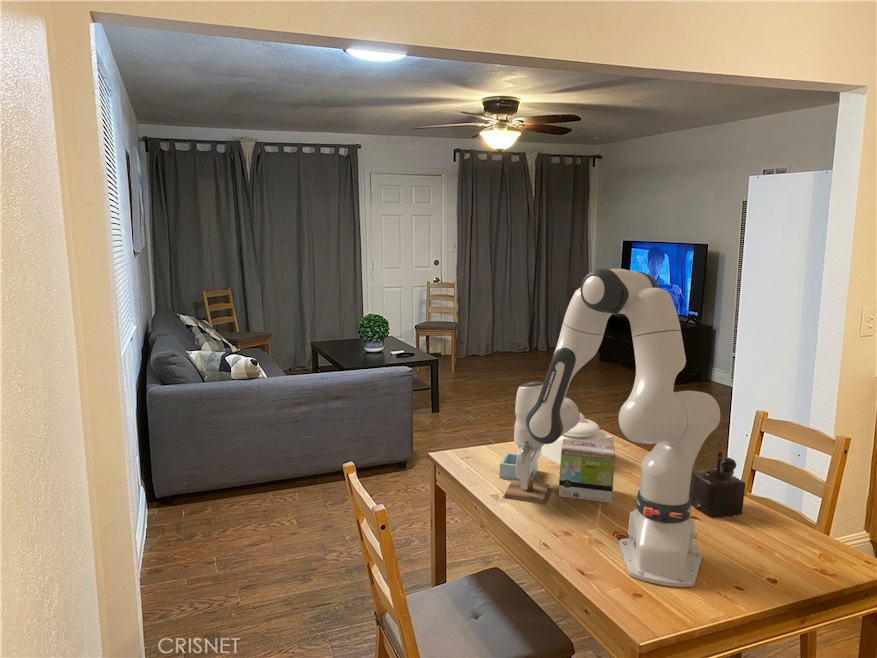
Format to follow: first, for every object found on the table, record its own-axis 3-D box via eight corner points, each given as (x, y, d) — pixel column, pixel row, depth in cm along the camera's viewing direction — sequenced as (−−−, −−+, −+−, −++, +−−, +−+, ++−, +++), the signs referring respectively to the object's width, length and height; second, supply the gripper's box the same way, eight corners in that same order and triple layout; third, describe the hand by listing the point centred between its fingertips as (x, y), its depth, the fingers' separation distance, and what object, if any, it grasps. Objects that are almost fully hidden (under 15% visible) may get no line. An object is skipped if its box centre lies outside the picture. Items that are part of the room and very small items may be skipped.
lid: (543, 503, 176) (543, 489, 175) (504, 497, 179) (504, 484, 178) (548, 488, 186) (549, 475, 185) (512, 482, 189) (512, 470, 189)
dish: (531, 483, 190) (532, 467, 189) (499, 479, 193) (499, 463, 192) (537, 471, 199) (537, 456, 199) (506, 467, 202) (506, 452, 202)
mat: (544, 505, 175) (544, 504, 175) (502, 499, 179) (502, 498, 179) (550, 488, 186) (550, 487, 186) (510, 483, 190) (510, 482, 190)
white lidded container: (571, 471, 200) (573, 423, 198) (536, 453, 216) (538, 409, 213) (612, 462, 208) (615, 416, 206) (576, 446, 224) (578, 402, 221)
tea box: (558, 498, 180) (560, 448, 178) (559, 484, 190) (562, 437, 187) (612, 504, 177) (615, 453, 174) (611, 489, 186) (614, 442, 184)
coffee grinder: (684, 502, 178) (689, 441, 175) (717, 498, 181) (723, 439, 178) (720, 527, 163) (726, 461, 161) (757, 523, 166) (763, 458, 163)
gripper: (534, 450, 169) (531, 498, 172) (546, 427, 188) (543, 471, 191) (511, 447, 171) (509, 495, 174) (525, 425, 190) (523, 468, 193)
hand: (527, 482), depth 182 cm, fingers open, 8 cm apart
